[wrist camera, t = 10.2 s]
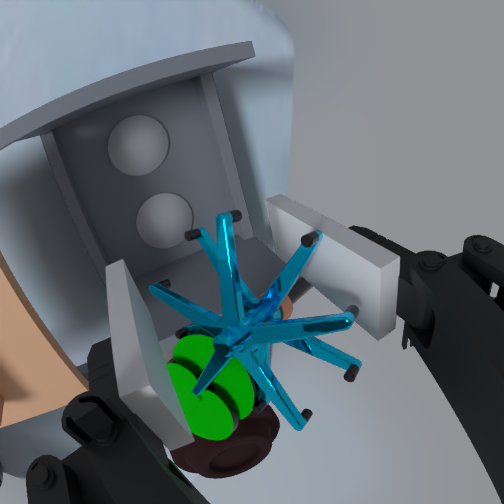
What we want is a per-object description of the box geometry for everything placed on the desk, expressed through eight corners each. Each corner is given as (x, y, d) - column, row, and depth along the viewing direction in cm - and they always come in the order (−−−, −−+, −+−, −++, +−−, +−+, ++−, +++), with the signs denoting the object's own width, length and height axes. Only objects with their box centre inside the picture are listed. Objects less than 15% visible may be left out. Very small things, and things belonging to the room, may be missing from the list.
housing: (-17, 354, 24) (-35, 427, 15) (-96, 217, 15) (-153, 262, 7) (245, 236, 32) (302, 285, 24) (200, 65, 24) (251, 40, 15)
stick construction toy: (179, 165, 9) (409, 349, 7) (285, 163, 15) (424, 266, 12) (114, 378, 15) (221, 486, 13) (197, 328, 21) (288, 409, 18)
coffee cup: (223, 375, 39) (278, 468, 26) (146, 388, 35) (182, 496, 22) (228, 310, 35) (299, 409, 23) (138, 322, 31) (173, 442, 18)
